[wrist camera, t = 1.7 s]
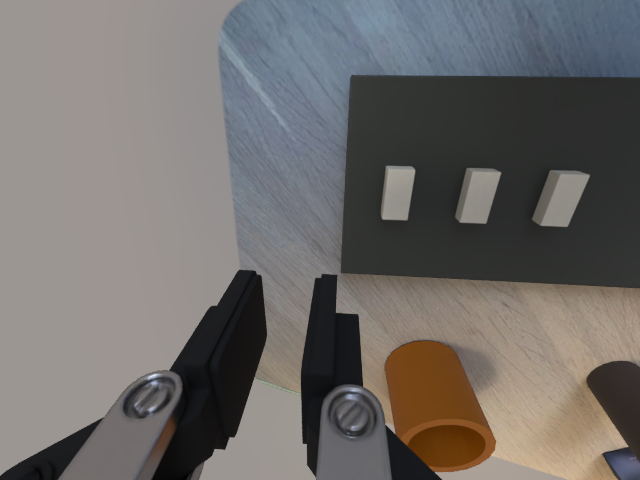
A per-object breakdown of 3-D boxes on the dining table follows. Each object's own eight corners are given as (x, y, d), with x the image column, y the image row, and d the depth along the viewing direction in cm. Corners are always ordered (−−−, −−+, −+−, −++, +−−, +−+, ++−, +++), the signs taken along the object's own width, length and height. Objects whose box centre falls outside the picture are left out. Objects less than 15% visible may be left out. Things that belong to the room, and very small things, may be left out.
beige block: (385, 165, 22) (387, 169, 21) (412, 166, 22) (415, 169, 21) (380, 214, 24) (382, 219, 23) (404, 215, 24) (407, 220, 23)
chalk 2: (466, 167, 22) (472, 171, 21) (493, 168, 22) (501, 172, 20) (454, 216, 23) (459, 222, 22) (479, 218, 23) (486, 223, 22)
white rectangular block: (549, 170, 21) (560, 173, 20) (578, 170, 21) (590, 174, 20) (531, 219, 23) (540, 226, 22) (557, 220, 23) (567, 227, 22)
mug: (364, 395, 38) (370, 475, 30) (402, 331, 33) (421, 408, 25) (428, 412, 39) (450, 495, 31) (475, 351, 33) (517, 434, 25)
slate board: (350, 77, 22) (351, 74, 20) (786, 80, 20) (841, 79, 18) (341, 259, 29) (340, 273, 27) (660, 274, 27) (688, 291, 25)
